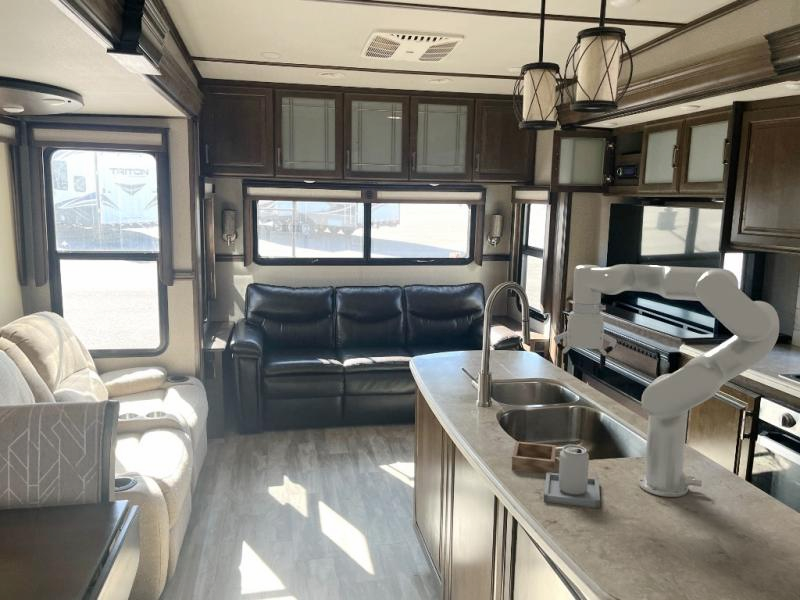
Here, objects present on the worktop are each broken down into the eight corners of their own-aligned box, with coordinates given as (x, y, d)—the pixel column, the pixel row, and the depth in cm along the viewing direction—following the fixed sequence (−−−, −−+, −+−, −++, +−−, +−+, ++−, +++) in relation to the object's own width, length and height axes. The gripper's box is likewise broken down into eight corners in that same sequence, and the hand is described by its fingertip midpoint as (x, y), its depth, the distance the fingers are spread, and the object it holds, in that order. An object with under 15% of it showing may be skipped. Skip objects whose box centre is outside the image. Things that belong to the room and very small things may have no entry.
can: (588, 498, 163) (590, 455, 161) (559, 495, 164) (560, 453, 162) (585, 485, 170) (587, 444, 168) (557, 483, 171) (559, 442, 169)
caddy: (555, 457, 189) (555, 445, 189) (554, 474, 178) (554, 461, 177) (515, 453, 193) (516, 441, 192) (511, 469, 181) (512, 456, 181)
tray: (598, 484, 172) (598, 478, 172) (599, 508, 159) (600, 501, 158) (546, 478, 176) (546, 472, 175) (543, 501, 162) (543, 494, 162)
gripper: (617, 307, 177) (614, 365, 180) (555, 305, 182) (553, 361, 185) (619, 312, 170) (616, 372, 173) (554, 309, 175) (552, 368, 178)
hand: (583, 366), depth 179 cm, fingers open, 9 cm apart
